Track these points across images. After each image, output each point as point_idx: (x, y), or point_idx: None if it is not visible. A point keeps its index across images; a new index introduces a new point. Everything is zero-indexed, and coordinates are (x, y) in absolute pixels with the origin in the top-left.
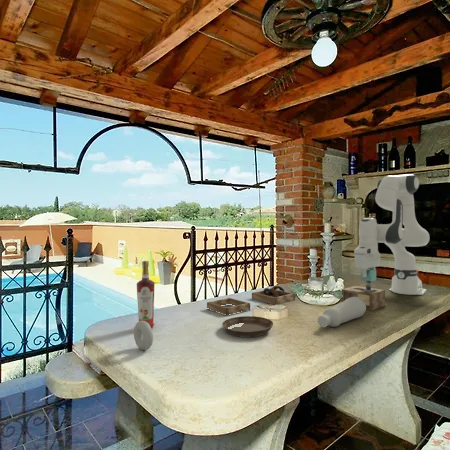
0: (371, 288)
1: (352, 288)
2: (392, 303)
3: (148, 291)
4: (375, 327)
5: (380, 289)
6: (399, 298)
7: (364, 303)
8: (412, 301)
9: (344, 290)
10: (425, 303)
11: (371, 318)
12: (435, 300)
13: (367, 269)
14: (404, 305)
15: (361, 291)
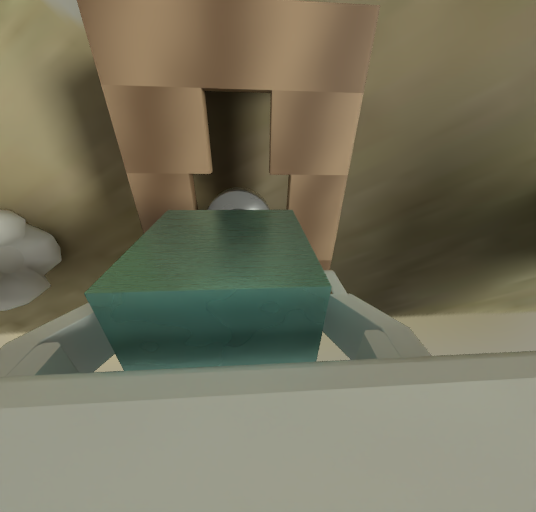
0: (327, 201)
1: (212, 73)
2: (367, 240)
3: None
4: (23, 327)
5: (329, 255)
6: (490, 221)
7: (9, 308)
8: (446, 274)
9: (92, 39)
10: (430, 309)
11: (86, 284)
12: (495, 312)
13: (193, 363)
14: (358, 280)
15: (167, 204)
